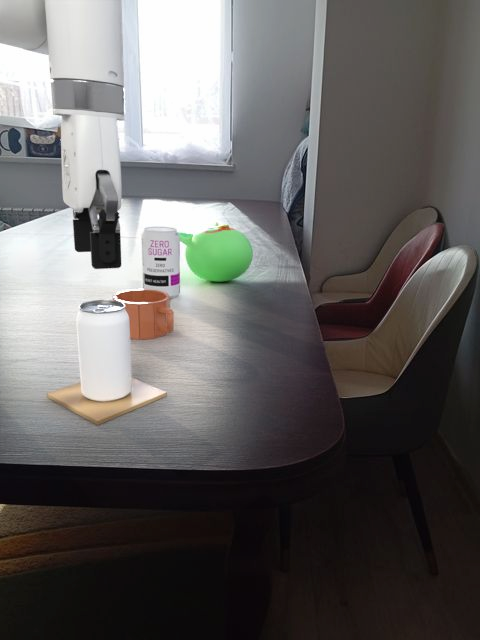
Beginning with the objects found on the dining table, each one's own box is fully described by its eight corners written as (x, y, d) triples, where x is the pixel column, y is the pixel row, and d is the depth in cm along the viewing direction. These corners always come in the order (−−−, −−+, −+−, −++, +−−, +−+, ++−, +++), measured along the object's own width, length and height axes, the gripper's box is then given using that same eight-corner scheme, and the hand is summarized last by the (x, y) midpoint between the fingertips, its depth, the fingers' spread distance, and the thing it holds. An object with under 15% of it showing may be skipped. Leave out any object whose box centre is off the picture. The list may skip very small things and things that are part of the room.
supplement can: (169, 289, 123) (168, 225, 118) (186, 297, 117) (186, 230, 111) (137, 293, 118) (135, 226, 113) (153, 301, 112) (151, 232, 107)
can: (137, 383, 71) (134, 300, 67) (124, 404, 65) (120, 314, 61) (91, 380, 71) (85, 297, 67) (74, 401, 65) (66, 311, 61)
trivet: (46, 397, 67) (46, 393, 67) (115, 373, 76) (115, 369, 76) (97, 425, 61) (97, 421, 61) (166, 396, 70) (166, 392, 69)
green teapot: (218, 292, 123) (219, 229, 118) (169, 279, 132) (168, 221, 127) (263, 280, 137) (266, 224, 131) (216, 270, 146) (217, 217, 141)
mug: (103, 330, 93) (101, 295, 91) (145, 318, 101) (144, 286, 98) (151, 348, 86) (150, 310, 84) (192, 334, 94) (192, 300, 91)
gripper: (40, 102, 61) (52, 246, 67) (67, 95, 47) (78, 277, 53) (104, 109, 65) (110, 245, 71) (147, 104, 51) (149, 273, 57)
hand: (96, 259), depth 62 cm, fingers open, 9 cm apart
